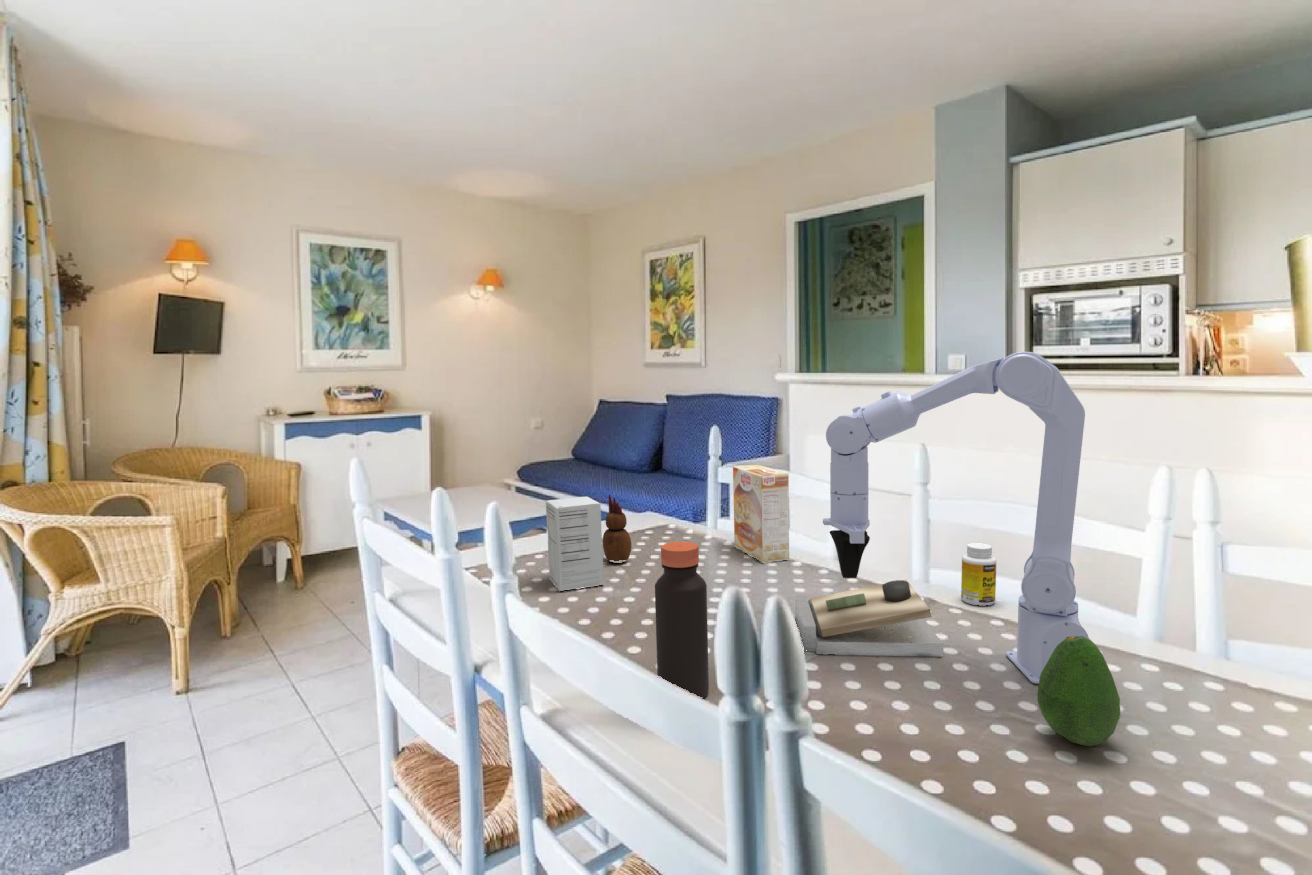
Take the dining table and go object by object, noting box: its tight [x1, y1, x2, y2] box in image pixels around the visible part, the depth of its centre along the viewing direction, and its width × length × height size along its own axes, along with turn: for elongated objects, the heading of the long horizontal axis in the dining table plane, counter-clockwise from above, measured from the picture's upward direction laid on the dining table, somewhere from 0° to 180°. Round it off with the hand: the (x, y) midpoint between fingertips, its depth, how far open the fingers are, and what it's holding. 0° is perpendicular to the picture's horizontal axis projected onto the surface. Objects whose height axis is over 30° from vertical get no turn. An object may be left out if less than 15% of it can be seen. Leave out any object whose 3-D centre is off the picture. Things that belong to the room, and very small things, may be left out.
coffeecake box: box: [732, 464, 790, 563], centre depth 157 cm, size 15×7×20 cm, turn 17°
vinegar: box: [654, 541, 710, 699], centre depth 91 cm, size 7×7×20 cm
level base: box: [794, 594, 944, 658], centre depth 110 cm, size 16×20×4 cm
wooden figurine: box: [602, 494, 632, 561], centre depth 154 cm, size 7×6×15 cm
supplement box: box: [545, 496, 605, 591], centre depth 140 cm, size 10×9×17 cm
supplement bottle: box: [960, 542, 997, 607], centre depth 123 cm, size 6×6×10 cm
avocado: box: [1036, 636, 1121, 747], centre depth 78 cm, size 8×8×12 cm
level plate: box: [808, 579, 932, 637], centre depth 109 cm, size 14×17×3 cm
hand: (849, 576), depth 109 cm, fingers closed
